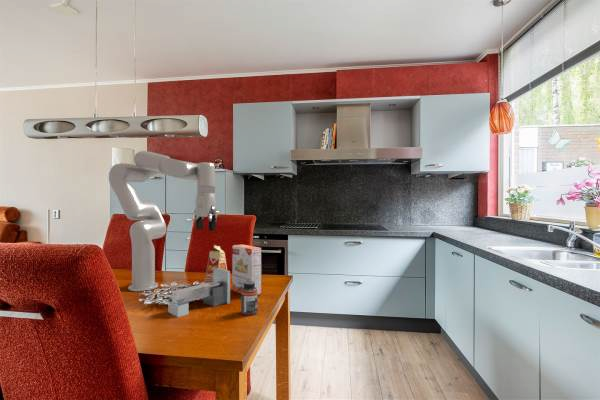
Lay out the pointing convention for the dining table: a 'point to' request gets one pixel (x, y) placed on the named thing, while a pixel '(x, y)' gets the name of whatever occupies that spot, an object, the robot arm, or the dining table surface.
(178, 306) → the block
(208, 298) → the cup bracket
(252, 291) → the supplement bottle
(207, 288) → the rail
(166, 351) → the dining table surface
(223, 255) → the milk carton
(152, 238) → the robot arm
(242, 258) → the cracker box
